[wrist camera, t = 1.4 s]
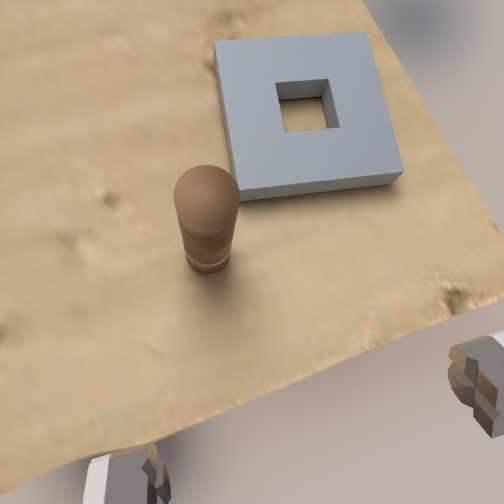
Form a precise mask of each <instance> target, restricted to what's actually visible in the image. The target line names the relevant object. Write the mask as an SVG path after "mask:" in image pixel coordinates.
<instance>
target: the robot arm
mask: <svg viewBox="0 0 504 504" xmlns="http://www.w3.org/2000/svg"><path fill="white" fill-rule="evenodd" d="M449 358H450V359H451V360H452V361H453V363H452V364H451V366H450V367H449V368H448V379H449V382H450V385H451V388H452V390H453V391H454V393H455V395H456V396H457V397H458V399H459V400H460V401H461V402H462V403H463V404H465V405H467V406H470V407H472V408H473V417H474V418H475V419H476V421H477V422H478V423H479V424H480V425H481V427H482V428H483V429H484V430H485V431H486V433H487V434H488V435H489V436H490V437H491V438H495V437H498V436H501V435H504V330H502V331H499V332H496V333H492V334H489V335H487V336H482V337H479V338H476V339H473V340H470V341H467V342H464V343H461V344H458V345H455V346H452V347H451V349H450V350H449ZM170 499H171V487H170V480H169V474H168V471H167V468H166V465H165V463H164V461H163V460H161V459H159V458H157V448H156V447H155V445H154V443H153V442H149V443H146V444H142V445H139V446H135V447H132V448H128V449H125V450H121V451H118V452H114V453H111V454H108V455H105V456H101V457H98V458H95V459H92V460H91V463H90V465H89V467H88V472H87V479H86V484H85V491H84V496H83V502H82V504H168V503H169V501H170Z"/></svg>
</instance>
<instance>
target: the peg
mask: <svg viewBox="0 0 504 504" xmlns="http://www.w3.org/2000/svg"><path fill="white" fill-rule="evenodd" d="M174 202H175V207H176V211H177V216H178V220H179V225H180V229H181V234H182V238H183V244H184V249H185V252H186V256H187V260H188V262H189V263H190V265H191V266H192V267H193V268H194V269H196V270H197V271H200V272H203V273H212V272H216V271H218V270H220V269H221V268H222V267H223V266H224V265H225V264H226V262H227V260H228V258H229V253H230V250H231V245H232V238H233V233H234V228H235V223H236V218H237V213H238V208H239V202H240V190H239V187H238V184H237V182H236V181H235V179H234V178H233V177H232V176H231V175H230V174H229V173H228V172H227V171H225V170H224V169H221V168H219V167H216V166H212V165H202V166H197V167H194V168H191V169H190V170H188V171H186V172H185V173H184V174H183V175H182V176H181V177H180V178H179V180H178V181H177V183H176V186H175V189H174Z"/></svg>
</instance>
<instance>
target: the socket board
mask: <svg viewBox="0 0 504 504" xmlns="http://www.w3.org/2000/svg"><path fill="white" fill-rule="evenodd" d="M214 66H215V72H216V79H217V85H218V91H219V97H220V103H221V109H222V115H223V121H224V127H225V134H226V140H227V146H228V152H229V158H230V164H231V170H232V176H233V178H234V179H235V181H236V182H237V184H238V187H239V190H240V201H248V200H257V199H265V198H274V197H282V196H291V195H300V194H308V193H317V192H326V191H334V190H343V189H351V188H360V187H369V186H377V185H386V184H392V183H393V182H394V181H395V180H396V179H397V178H398V177H399V176H400V175H401V174H402V173H403V172H404V169H403V165H402V162H401V158H400V154H399V151H398V147H397V143H396V139H395V136H394V132H393V128H392V125H391V121H390V117H389V114H388V110H387V106H386V102H385V99H384V95H383V91H382V88H381V84H380V80H379V77H378V73H377V69H376V65H375V62H374V58H373V54H372V51H371V47H370V43H369V40H368V36H367V32H350V33H334V34H317V35H300V36H284V37H267V38H250V39H233V40H217V41H214ZM318 96H321V99H322V103H323V108H324V112H325V116H326V121H327V125H328V129H319V130H308V131H297V132H287V133H285V130H284V125H283V120H282V115H281V110H280V105H279V100H281V99H293V98H306V97H318Z"/></svg>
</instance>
